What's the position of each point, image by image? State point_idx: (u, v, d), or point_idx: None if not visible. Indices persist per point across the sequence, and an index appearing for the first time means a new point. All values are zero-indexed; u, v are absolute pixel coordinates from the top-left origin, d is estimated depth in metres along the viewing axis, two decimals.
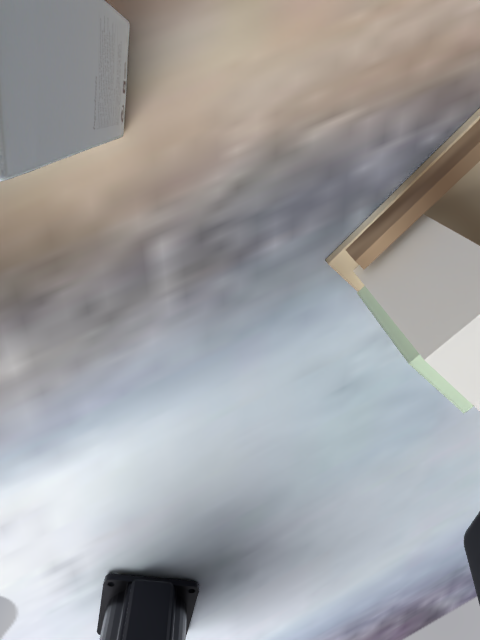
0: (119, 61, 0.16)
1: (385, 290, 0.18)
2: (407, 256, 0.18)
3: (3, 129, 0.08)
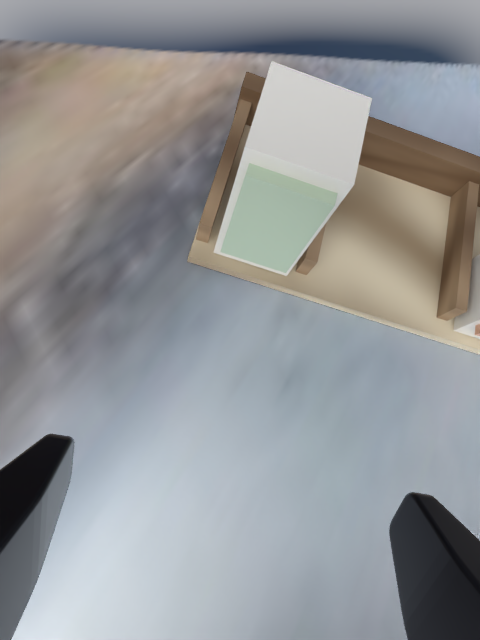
0: None
1: None
2: None
3: None
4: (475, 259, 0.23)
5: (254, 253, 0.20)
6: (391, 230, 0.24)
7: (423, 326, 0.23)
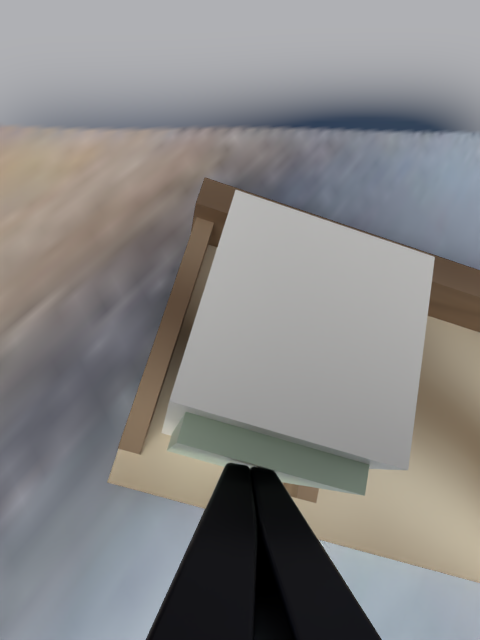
0: None
1: None
2: None
3: None
4: None
5: (220, 465, 0.12)
6: (429, 406, 0.16)
7: None
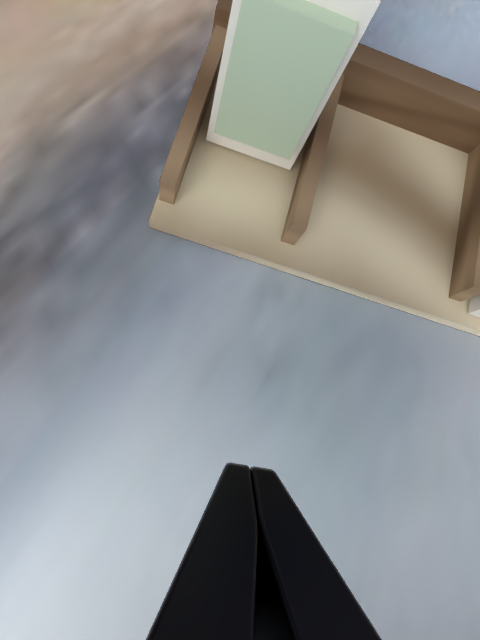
0: None
1: None
2: None
3: None
4: None
5: (254, 130, 0.17)
6: (397, 192, 0.20)
7: (432, 308, 0.19)
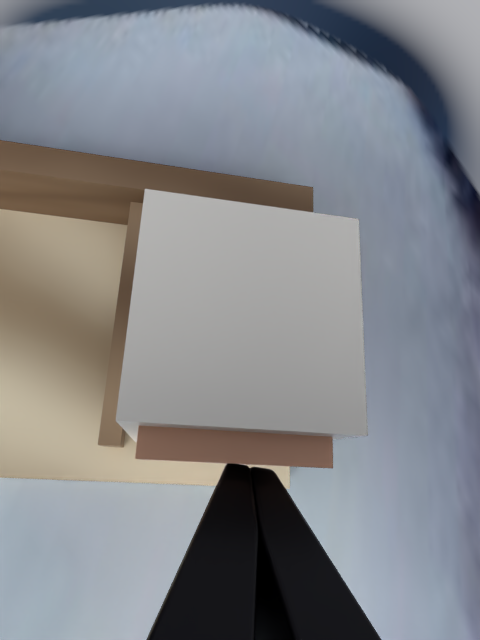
0: None
1: None
2: None
3: None
4: None
5: None
6: (20, 306, 0.15)
7: (77, 470, 0.13)
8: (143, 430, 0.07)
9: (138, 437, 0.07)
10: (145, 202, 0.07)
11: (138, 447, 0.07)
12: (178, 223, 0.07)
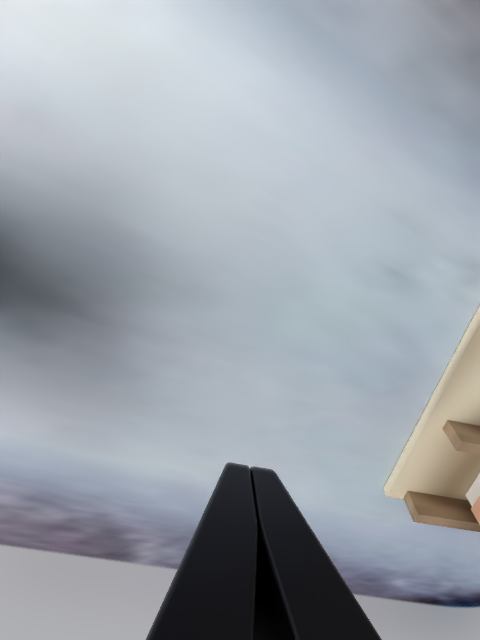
0: None
1: None
2: None
3: None
4: None
5: None
6: None
7: (439, 407, 0.23)
8: None
9: None
10: None
11: None
12: None
